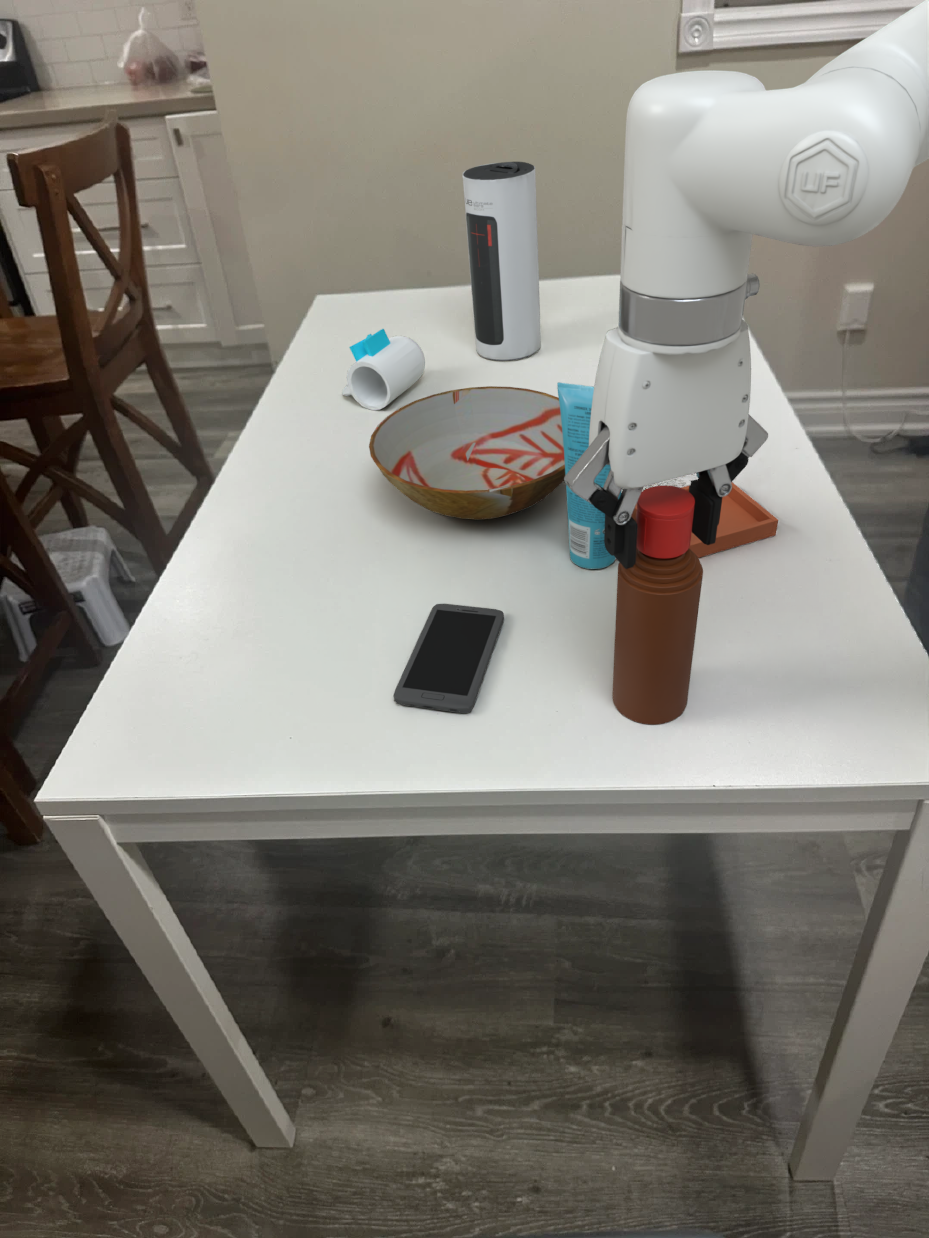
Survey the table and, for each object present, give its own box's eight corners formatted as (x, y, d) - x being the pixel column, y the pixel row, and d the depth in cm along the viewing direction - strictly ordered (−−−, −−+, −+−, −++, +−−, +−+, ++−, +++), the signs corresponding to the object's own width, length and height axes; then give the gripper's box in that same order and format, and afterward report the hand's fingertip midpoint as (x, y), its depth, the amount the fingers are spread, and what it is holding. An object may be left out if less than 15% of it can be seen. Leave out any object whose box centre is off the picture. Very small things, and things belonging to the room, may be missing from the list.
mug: (413, 310, 124) (367, 342, 116) (440, 368, 128) (398, 403, 120) (356, 333, 131) (309, 365, 124) (383, 388, 135) (340, 422, 127)
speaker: (462, 347, 138) (447, 167, 121) (515, 330, 142) (508, 153, 125) (500, 367, 131) (489, 179, 114) (555, 348, 134) (552, 164, 118)
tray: (722, 490, 100) (724, 475, 98) (776, 535, 92) (778, 519, 91) (627, 516, 97) (628, 501, 96) (674, 565, 90) (676, 549, 88)
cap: (664, 566, 63) (668, 522, 60) (622, 543, 65) (625, 500, 63) (701, 543, 64) (706, 499, 62) (659, 521, 67) (663, 479, 65)
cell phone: (391, 704, 77) (390, 698, 76) (435, 607, 87) (434, 601, 86) (471, 715, 75) (470, 709, 75) (506, 614, 85) (505, 609, 85)
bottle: (663, 664, 78) (681, 477, 66) (701, 711, 74) (728, 518, 61) (599, 685, 77) (605, 497, 64) (634, 733, 72) (647, 541, 60)
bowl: (403, 576, 92) (393, 512, 87) (361, 466, 111) (351, 408, 106) (623, 526, 96) (627, 463, 91) (547, 428, 115) (546, 371, 110)
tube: (631, 548, 92) (640, 379, 80) (622, 575, 89) (630, 402, 77) (563, 540, 95) (562, 373, 82) (552, 565, 91) (549, 396, 79)
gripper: (764, 266, 58) (732, 495, 70) (528, 316, 54) (535, 550, 66) (837, 300, 53) (789, 543, 64) (580, 359, 49) (578, 606, 60)
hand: (660, 544), depth 65 cm, fingers open, 6 cm apart
